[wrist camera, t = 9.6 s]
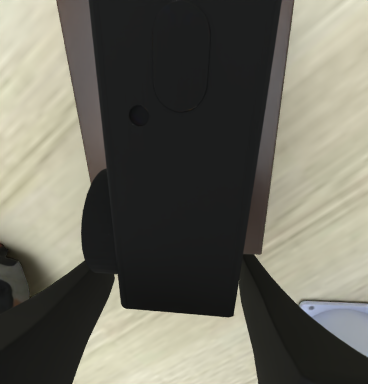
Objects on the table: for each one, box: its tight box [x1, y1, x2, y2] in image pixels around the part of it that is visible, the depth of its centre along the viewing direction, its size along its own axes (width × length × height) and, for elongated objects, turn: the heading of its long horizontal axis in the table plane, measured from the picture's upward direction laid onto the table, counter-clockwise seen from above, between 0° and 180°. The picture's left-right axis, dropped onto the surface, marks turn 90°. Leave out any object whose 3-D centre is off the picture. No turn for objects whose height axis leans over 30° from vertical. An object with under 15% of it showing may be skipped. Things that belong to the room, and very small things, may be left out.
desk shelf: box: [56, 0, 294, 255], centre depth 15 cm, size 11×15×4 cm
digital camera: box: [81, 0, 282, 317], centre depth 10 cm, size 10×5×7 cm, turn 178°
